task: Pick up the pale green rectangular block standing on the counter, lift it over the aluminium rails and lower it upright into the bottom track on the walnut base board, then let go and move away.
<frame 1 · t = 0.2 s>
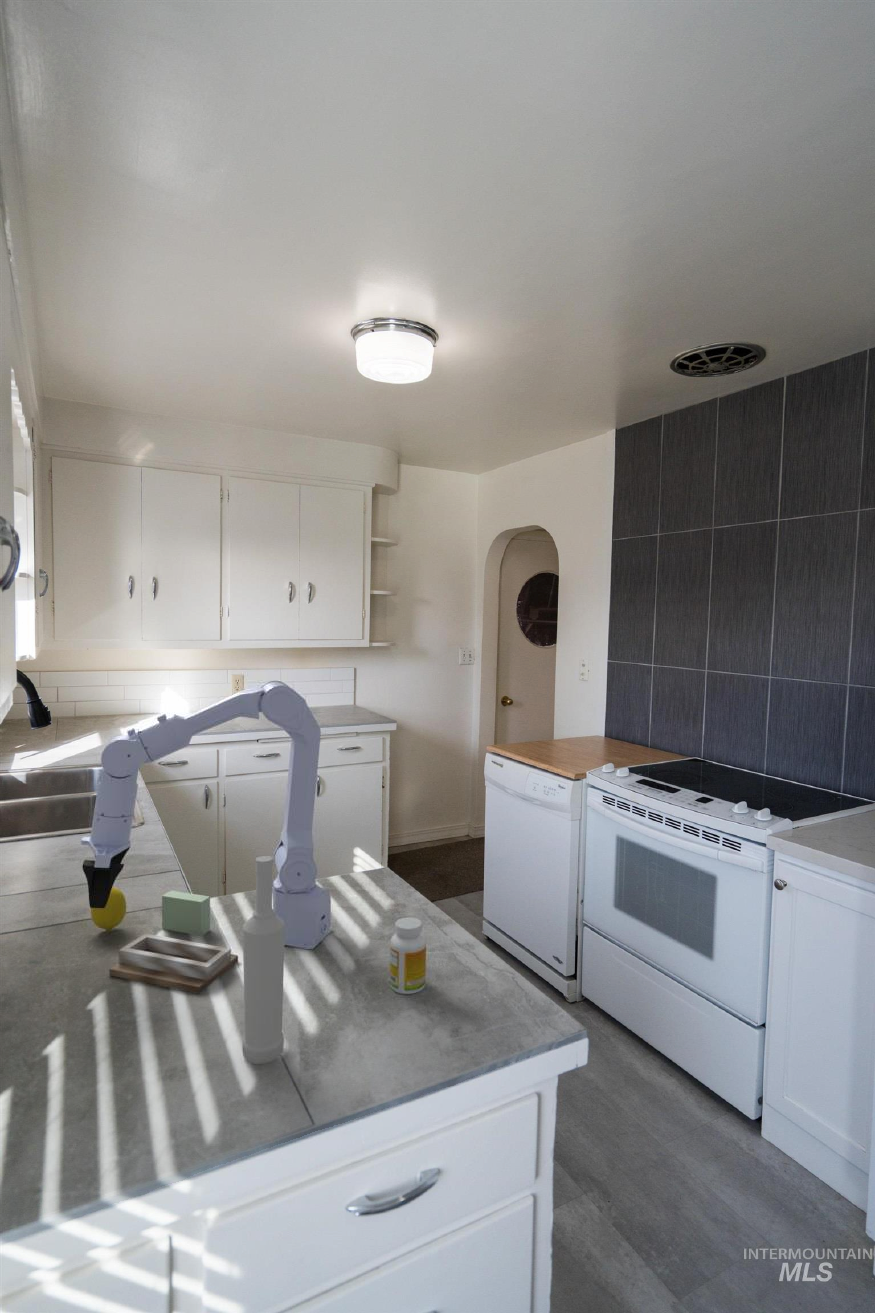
hand: (101, 897, 109), 10 cm above the worktop, tool pointing down, fingers open, 7 cm apart
bottle: (263, 1053, 88), on the worktop
track base: (175, 968, 108), on the worktop
lemon: (109, 932, 120), on the worktop
pale green rectangular block: (186, 929, 122), on the worktop
supplement bottle: (407, 987, 104), on the worktop
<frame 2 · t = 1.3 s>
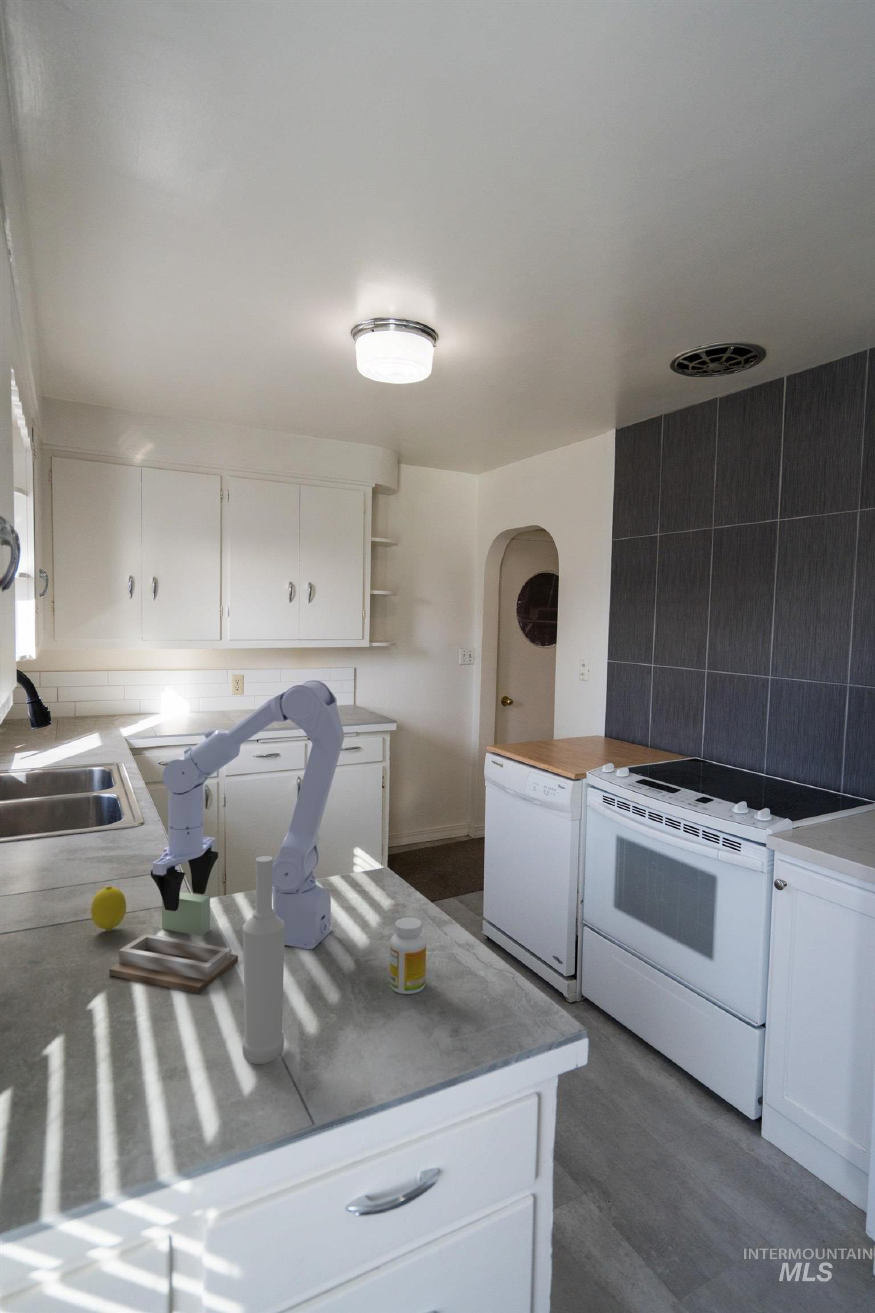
hand: (185, 901, 121), 5 cm above the worktop, tool pointing down, fingers open, 7 cm apart
nothing on the worktop moved.
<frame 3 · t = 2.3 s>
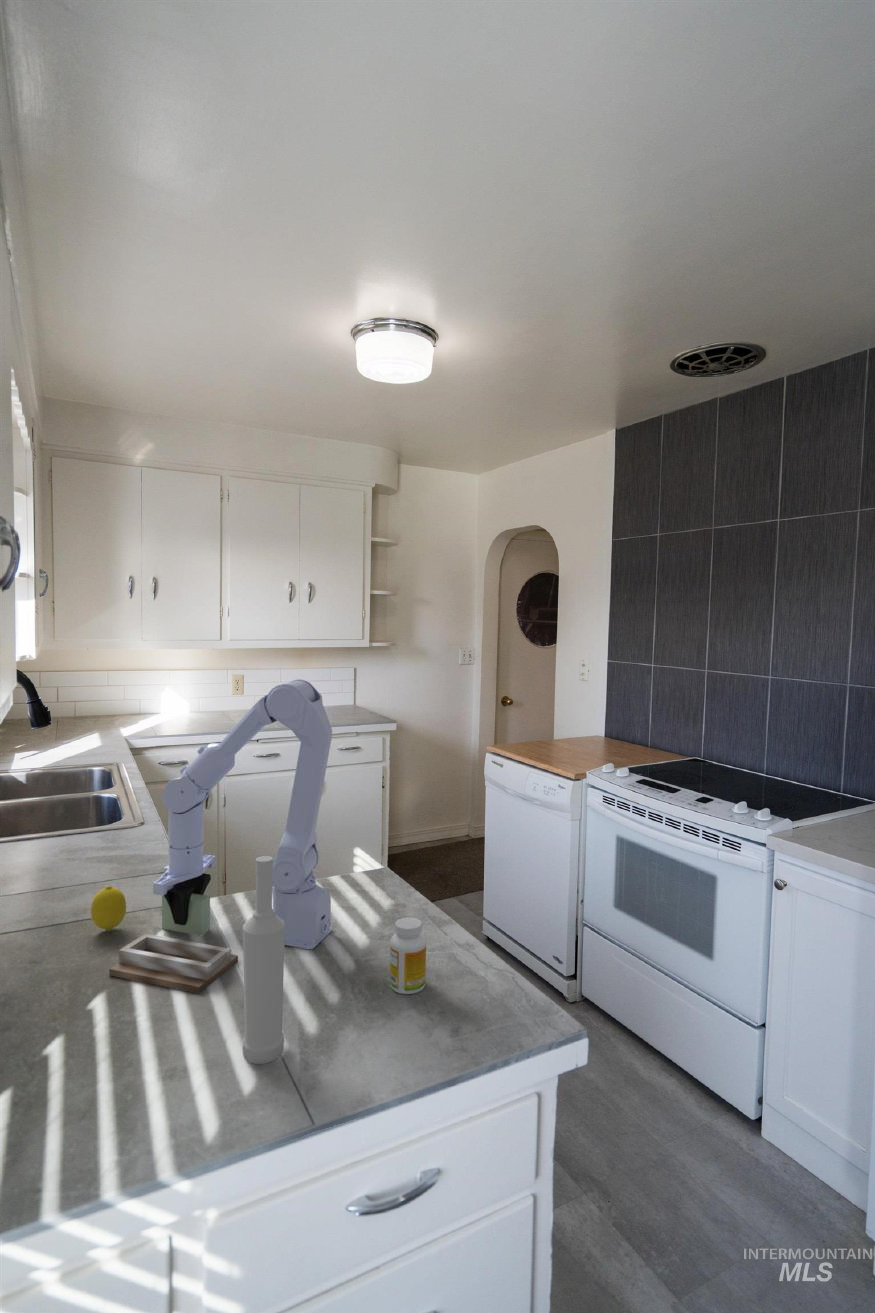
hand: (186, 920, 122), 2 cm above the worktop, tool pointing down, fingers closed on pale green rectangular block, 2 cm apart
pale green rectangular block: (186, 929, 122), on the worktop, touching gripper
everything else where it was.
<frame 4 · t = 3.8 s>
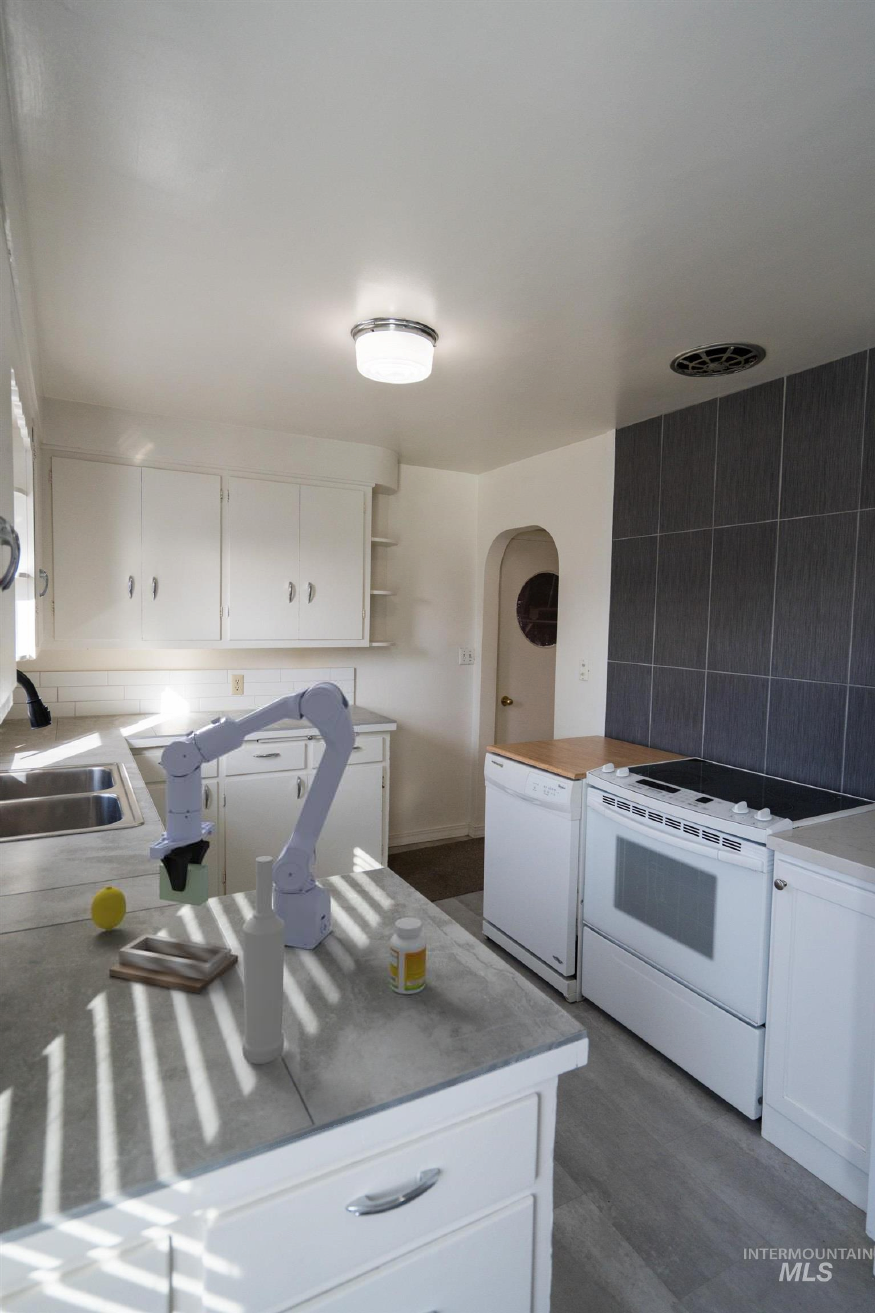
hand: (184, 887, 119), 9 cm above the worktop, tool pointing down, fingers closed on pale green rectangular block, 2 cm apart
pale green rectangular block: (183, 899, 119), point 6 cm above the worktop, touching gripper
everything else where it was.
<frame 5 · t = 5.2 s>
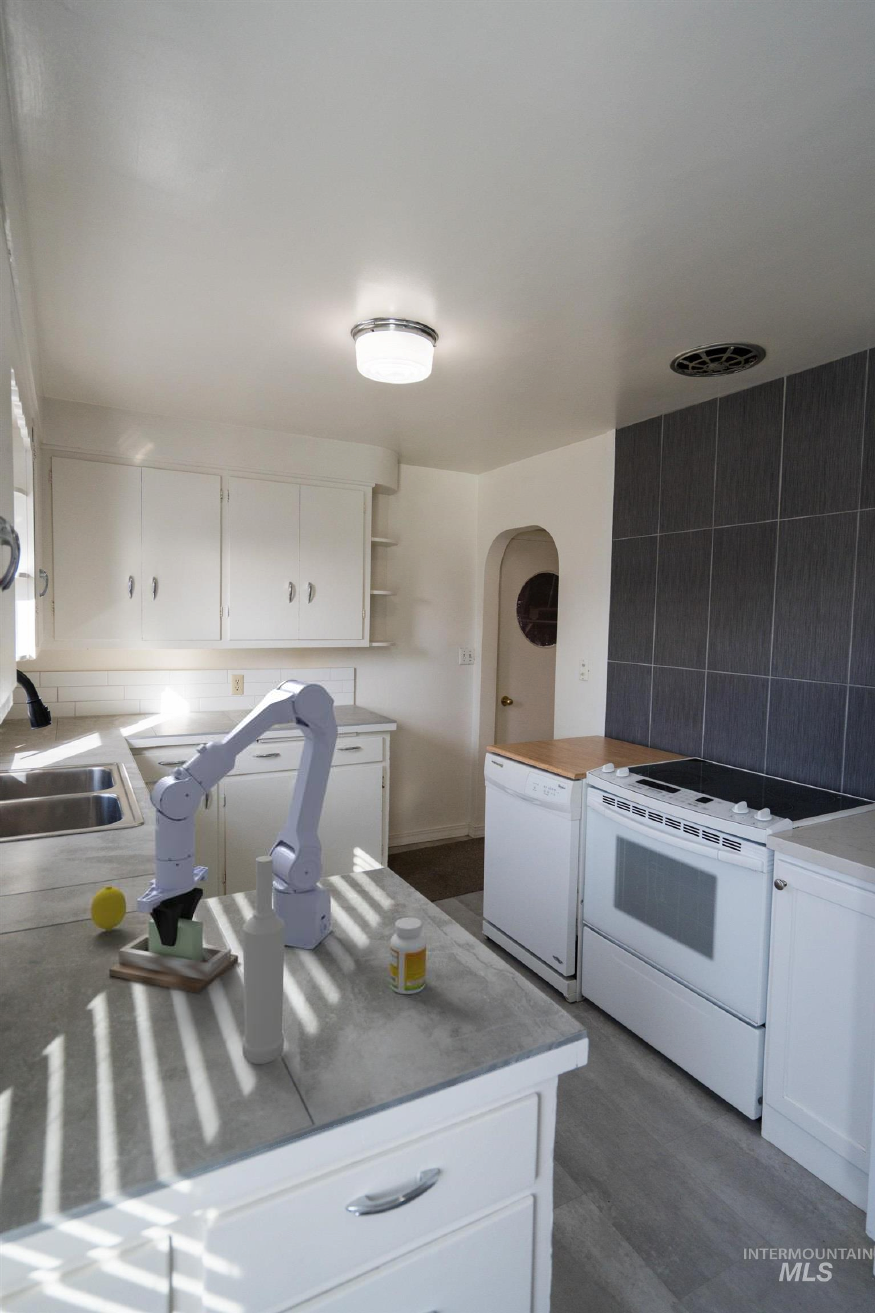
hand: (175, 940, 108), 4 cm above the worktop, tool pointing down, fingers closed on pale green rectangular block, 2 cm apart
pale green rectangular block: (175, 959, 108), point 1 cm above the worktop, touching gripper
everything else where it was.
when the fingers open (4 cm above the worktop, at t = 5.6 s): pale green rectangular block stays where it is, resting on track base.
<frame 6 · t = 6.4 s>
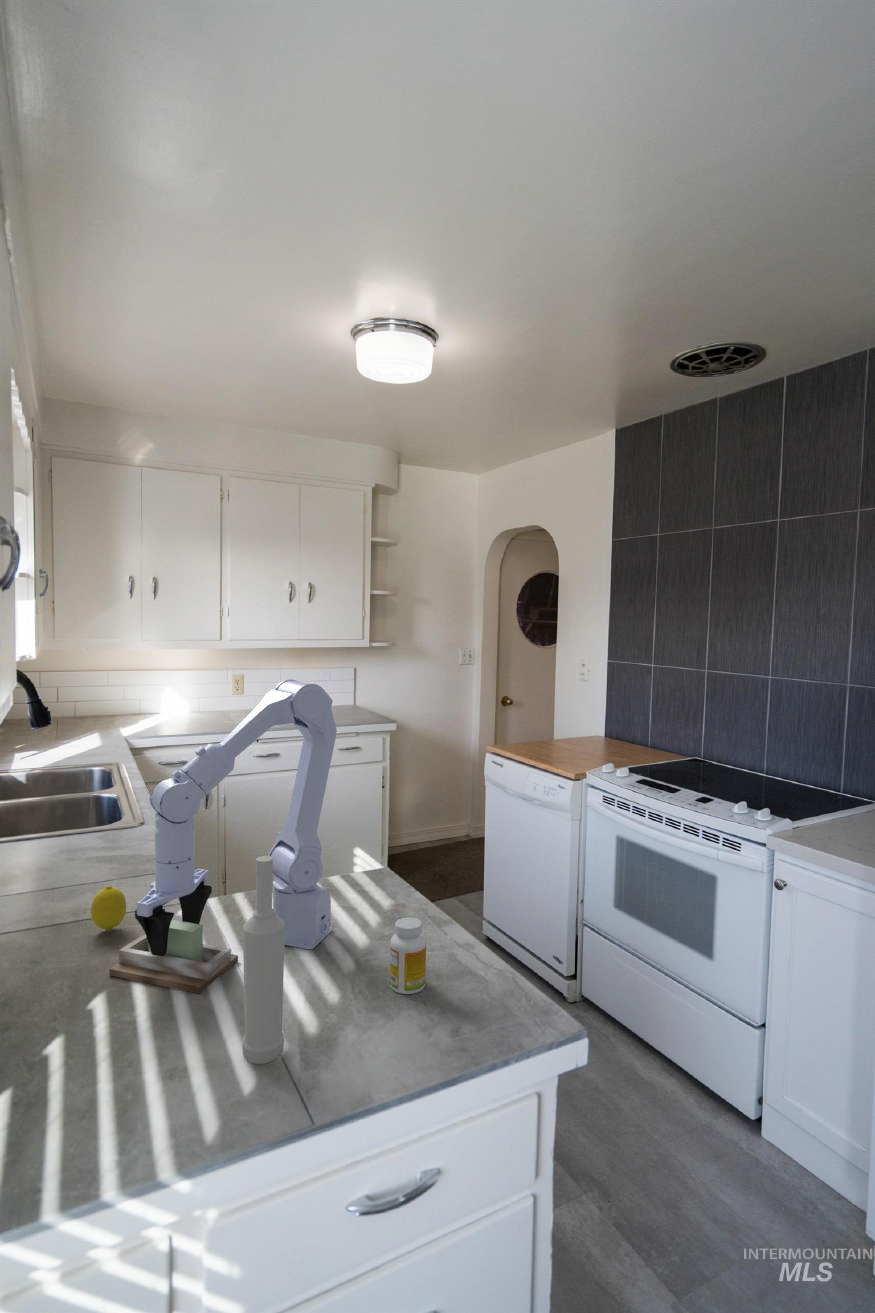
hand: (175, 943, 108), 4 cm above the worktop, tool pointing down, fingers open, 7 cm apart
pale green rectangular block: (175, 962, 108), point 1 cm above the worktop, touching track base
everything else where it was.
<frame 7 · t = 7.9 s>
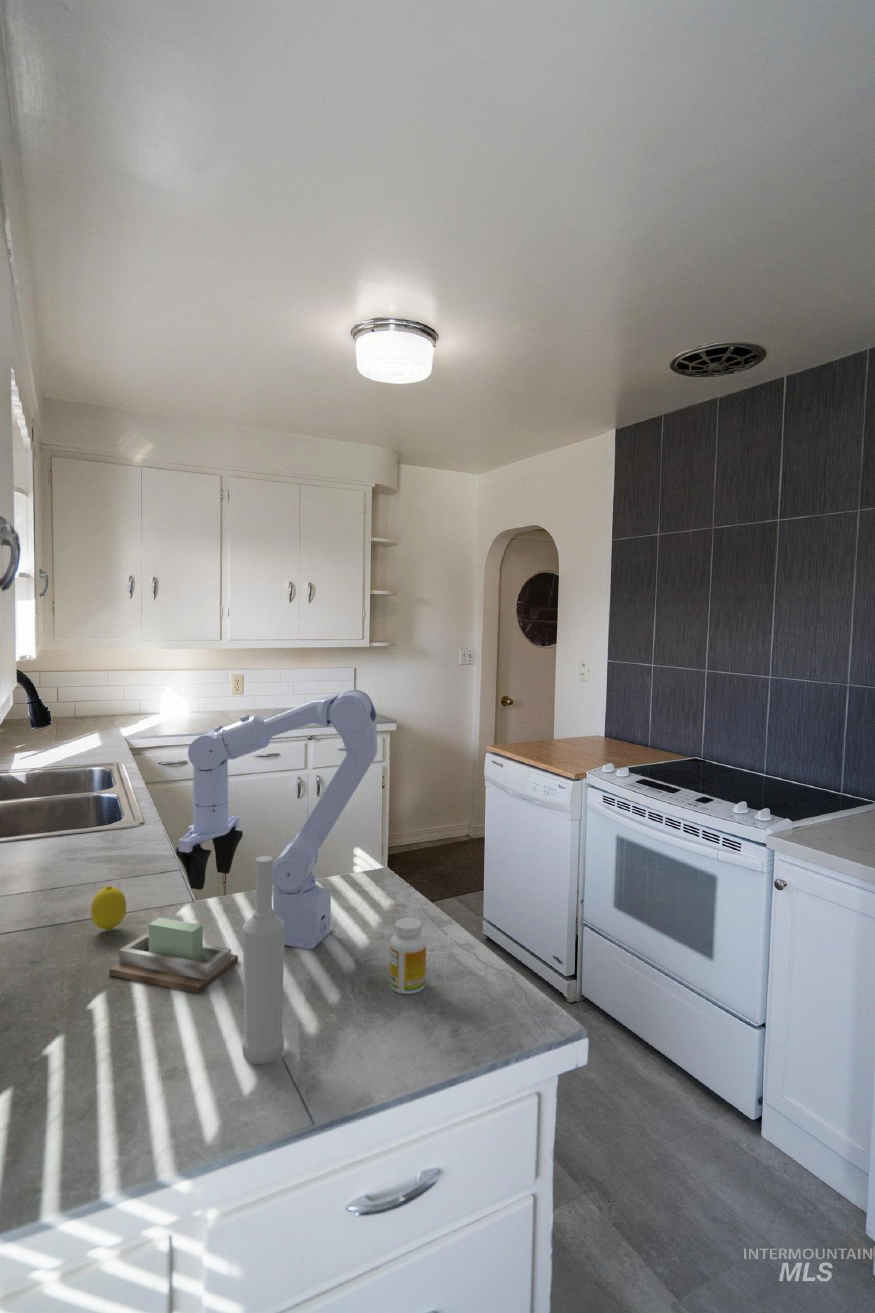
hand: (210, 880, 120), 9 cm above the worktop, tool pointing down, fingers open, 7 cm apart
nothing on the worktop moved.
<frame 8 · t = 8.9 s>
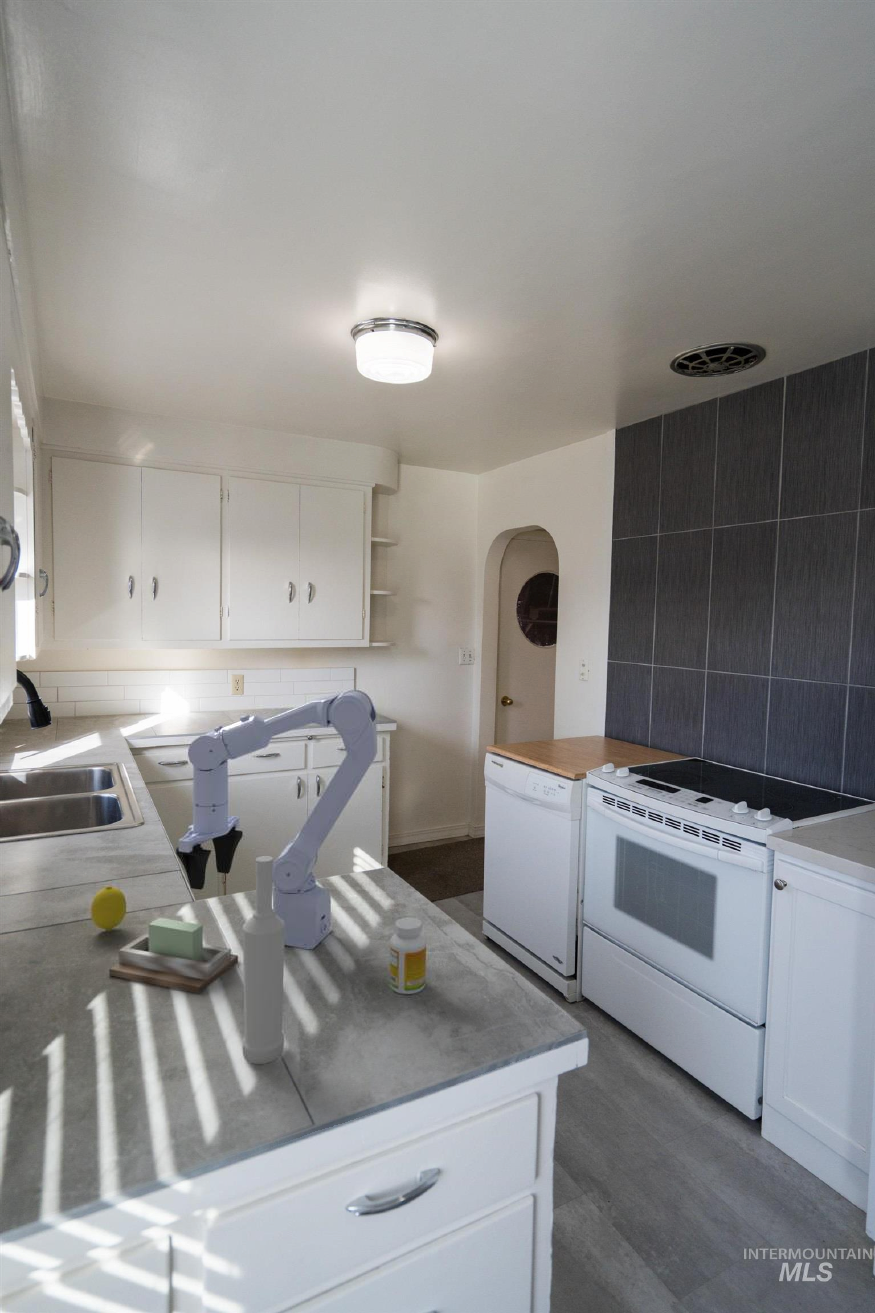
hand: (210, 880, 120), 9 cm above the worktop, tool pointing down, fingers open, 7 cm apart
nothing on the worktop moved.
at the end: pale green rectangular block 0.1 cm off-centre on the track base, point 1.0 cm above the track base's base; pale green rectangular block tilted 0°; the gripper is holding nothing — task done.
